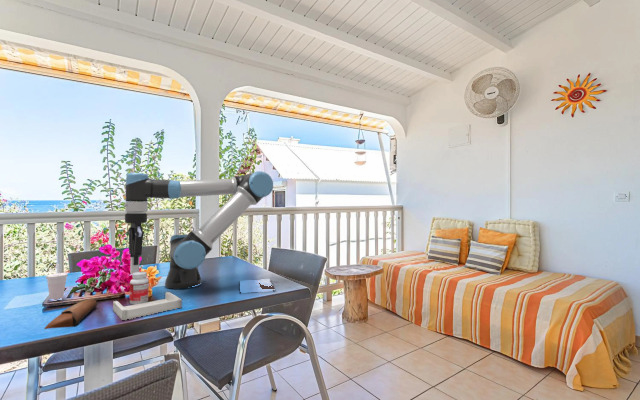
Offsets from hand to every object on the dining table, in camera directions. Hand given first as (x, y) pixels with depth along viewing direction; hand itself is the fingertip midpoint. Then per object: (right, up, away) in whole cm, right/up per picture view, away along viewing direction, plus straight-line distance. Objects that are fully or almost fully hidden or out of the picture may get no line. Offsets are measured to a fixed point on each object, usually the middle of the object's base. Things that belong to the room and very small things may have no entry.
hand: (134, 273), depth 123 cm
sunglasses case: (-8, -10, -21) cm, 24 cm away
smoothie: (-28, -10, -3) cm, 29 cm away
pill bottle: (+4, -10, -4) cm, 12 cm away
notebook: (+43, -12, +20) cm, 49 cm away
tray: (+12, -10, -12) cm, 19 cm away
